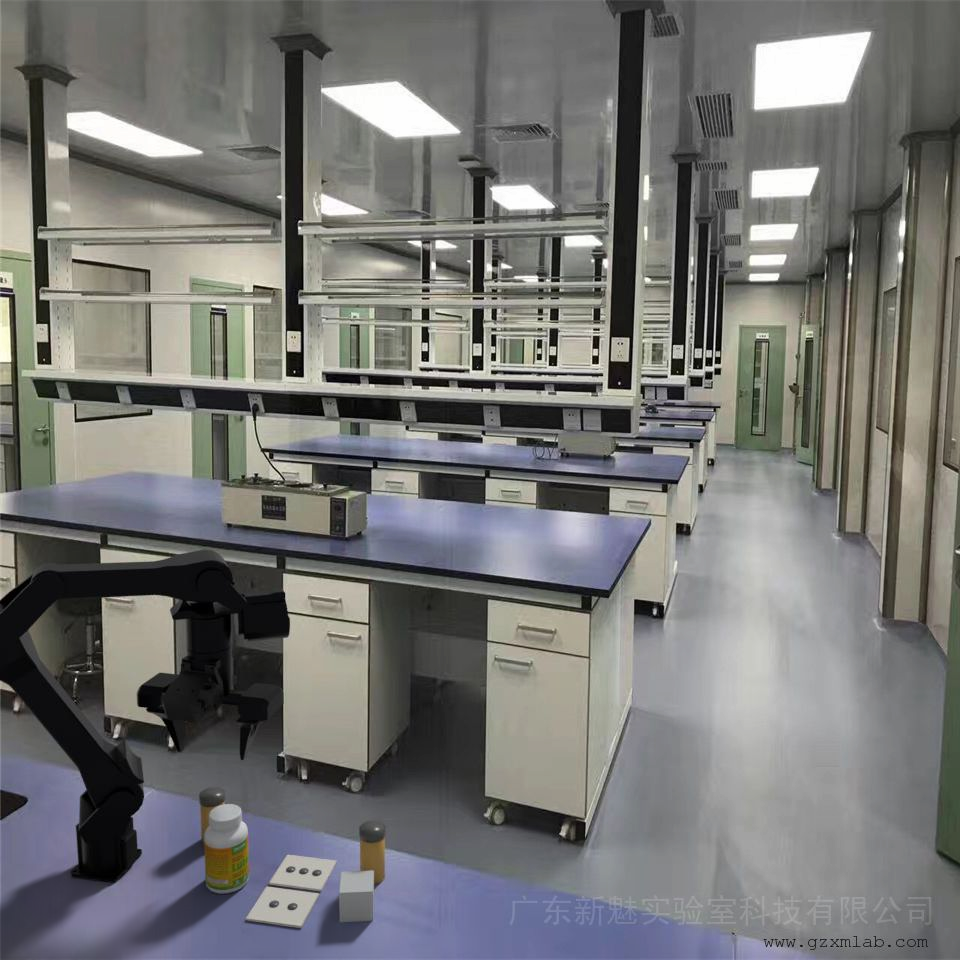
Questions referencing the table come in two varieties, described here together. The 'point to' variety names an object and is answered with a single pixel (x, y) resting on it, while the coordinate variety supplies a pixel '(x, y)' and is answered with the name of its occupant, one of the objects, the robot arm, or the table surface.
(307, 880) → the pad three
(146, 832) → the table surface
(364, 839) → the amber vial
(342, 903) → the grey block
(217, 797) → the amber vial
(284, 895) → the pad two
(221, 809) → the supplement bottle
